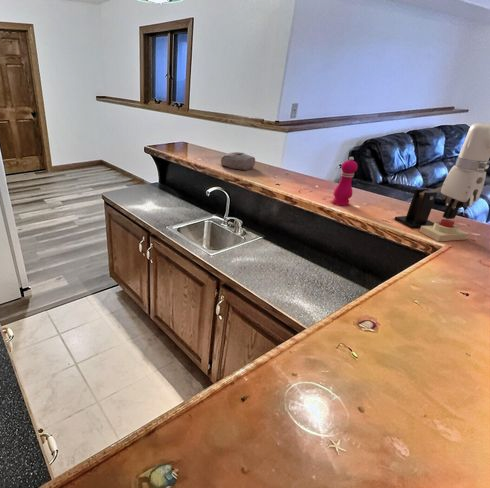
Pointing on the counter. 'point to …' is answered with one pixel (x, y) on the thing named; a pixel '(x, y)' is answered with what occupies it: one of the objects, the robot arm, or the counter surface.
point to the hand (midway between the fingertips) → (448, 217)
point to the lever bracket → (419, 210)
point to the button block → (443, 232)
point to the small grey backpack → (238, 161)
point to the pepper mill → (345, 183)
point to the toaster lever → (429, 191)
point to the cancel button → (446, 223)
